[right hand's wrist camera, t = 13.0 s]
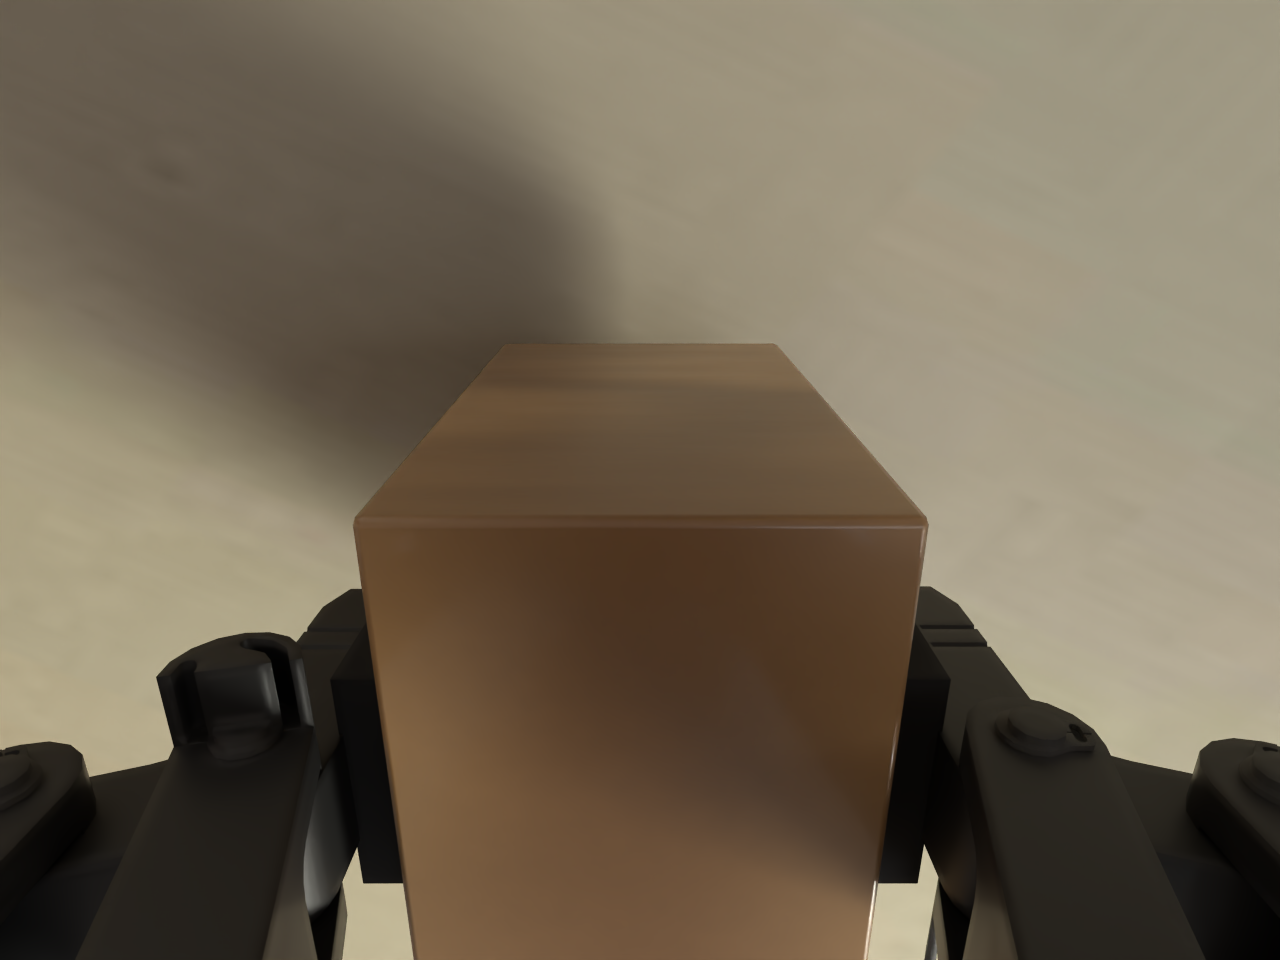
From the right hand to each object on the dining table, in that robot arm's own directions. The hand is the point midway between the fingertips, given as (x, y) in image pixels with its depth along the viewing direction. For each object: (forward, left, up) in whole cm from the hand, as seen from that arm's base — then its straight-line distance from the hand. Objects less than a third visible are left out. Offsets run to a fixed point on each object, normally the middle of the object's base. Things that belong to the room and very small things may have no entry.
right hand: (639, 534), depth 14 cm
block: (0, 0, -1) cm, 1 cm away
